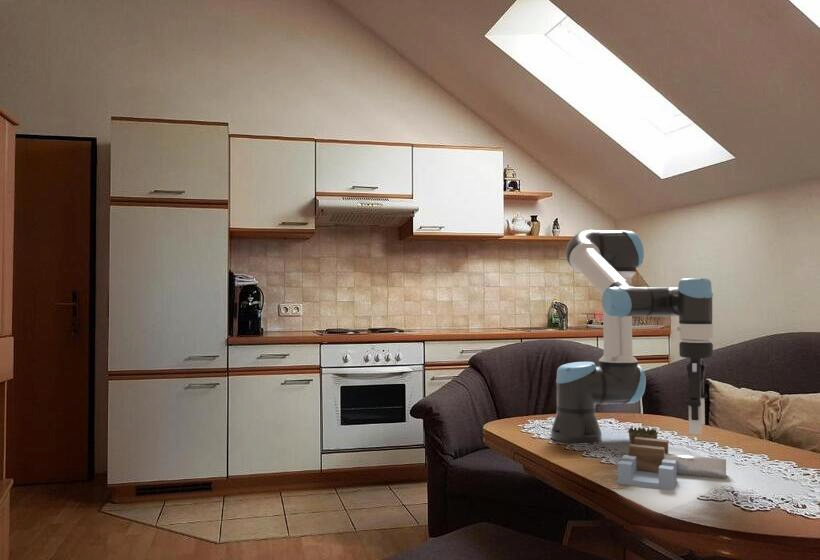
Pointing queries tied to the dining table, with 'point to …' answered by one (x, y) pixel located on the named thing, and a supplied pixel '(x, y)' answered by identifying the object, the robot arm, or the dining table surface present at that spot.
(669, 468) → the cradle
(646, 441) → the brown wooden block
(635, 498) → the dining table surface
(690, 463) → the white long block
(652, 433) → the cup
